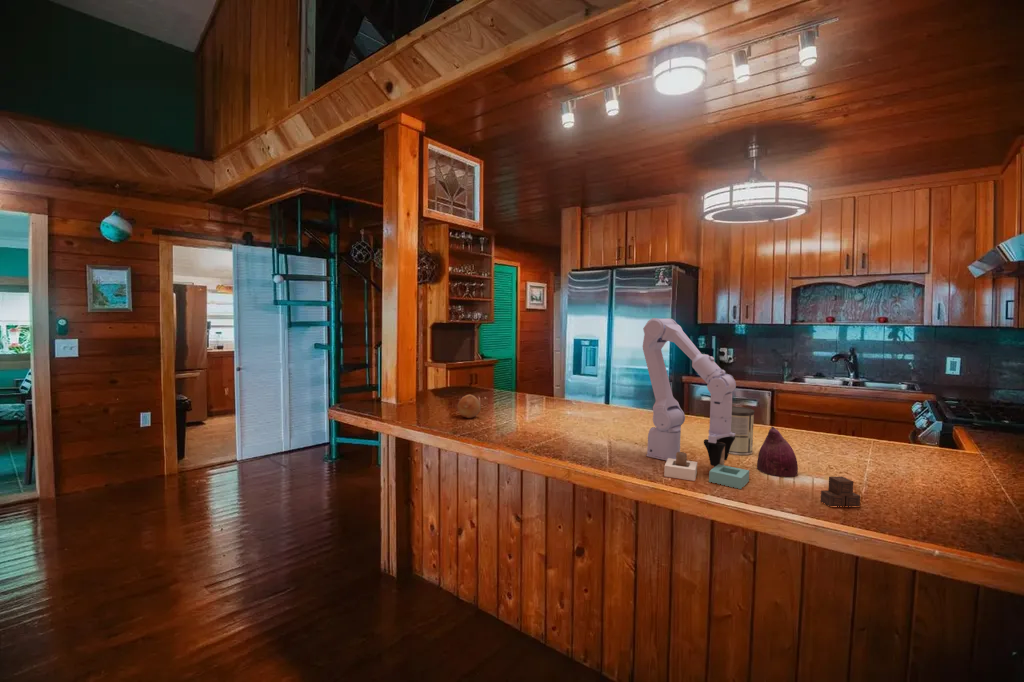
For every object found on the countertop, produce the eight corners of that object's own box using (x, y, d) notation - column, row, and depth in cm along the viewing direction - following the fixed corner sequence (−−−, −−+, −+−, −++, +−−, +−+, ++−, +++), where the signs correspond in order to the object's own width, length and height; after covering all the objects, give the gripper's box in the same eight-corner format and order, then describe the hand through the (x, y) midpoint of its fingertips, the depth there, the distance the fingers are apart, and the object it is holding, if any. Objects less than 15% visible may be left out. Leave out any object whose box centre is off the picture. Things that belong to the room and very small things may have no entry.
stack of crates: (842, 493, 122) (843, 467, 121) (890, 517, 107) (892, 488, 106) (785, 493, 121) (786, 467, 121) (826, 518, 106) (827, 488, 106)
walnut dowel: (674, 474, 132) (674, 453, 132) (677, 472, 134) (678, 451, 134) (683, 476, 131) (684, 455, 130) (687, 474, 133) (688, 453, 132)
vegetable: (777, 489, 131) (773, 440, 127) (749, 472, 141) (745, 427, 137) (807, 477, 133) (805, 429, 130) (778, 461, 143) (775, 416, 139)
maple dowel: (712, 470, 136) (713, 443, 136) (715, 468, 138) (716, 441, 138) (722, 472, 134) (723, 445, 134) (725, 470, 137) (726, 443, 136)
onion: (455, 415, 204) (455, 393, 204) (477, 414, 207) (477, 392, 207) (459, 420, 195) (459, 397, 195) (482, 419, 198) (483, 396, 197)
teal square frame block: (708, 481, 127) (709, 471, 126) (718, 474, 133) (718, 464, 133) (740, 489, 121) (741, 478, 121) (748, 481, 128) (749, 470, 127)
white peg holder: (664, 476, 131) (664, 465, 130) (667, 468, 138) (668, 458, 138) (694, 481, 127) (695, 470, 127) (696, 472, 134) (697, 461, 134)
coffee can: (714, 445, 162) (715, 405, 162) (745, 447, 161) (747, 406, 161) (724, 454, 152) (726, 411, 151) (757, 456, 151) (759, 412, 150)
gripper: (727, 422, 127) (725, 471, 128) (742, 414, 138) (740, 459, 139) (701, 418, 132) (699, 466, 133) (717, 411, 143) (715, 455, 144)
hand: (718, 462), depth 136 cm, fingers open, 7 cm apart
